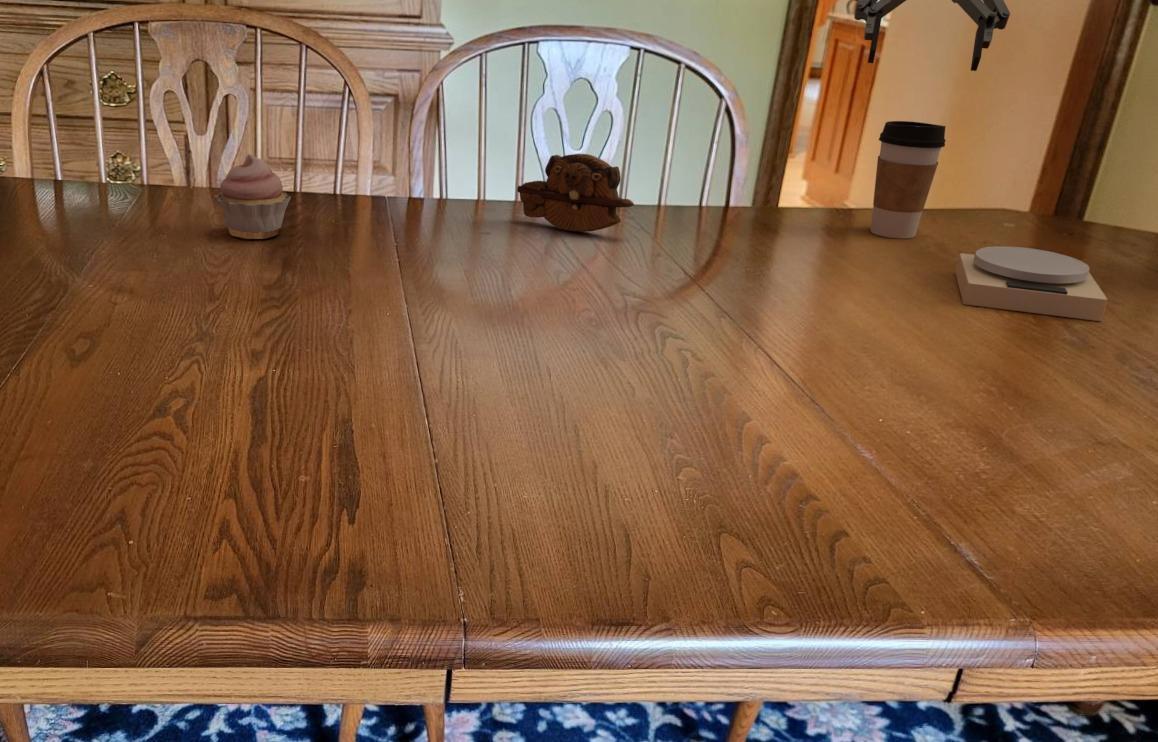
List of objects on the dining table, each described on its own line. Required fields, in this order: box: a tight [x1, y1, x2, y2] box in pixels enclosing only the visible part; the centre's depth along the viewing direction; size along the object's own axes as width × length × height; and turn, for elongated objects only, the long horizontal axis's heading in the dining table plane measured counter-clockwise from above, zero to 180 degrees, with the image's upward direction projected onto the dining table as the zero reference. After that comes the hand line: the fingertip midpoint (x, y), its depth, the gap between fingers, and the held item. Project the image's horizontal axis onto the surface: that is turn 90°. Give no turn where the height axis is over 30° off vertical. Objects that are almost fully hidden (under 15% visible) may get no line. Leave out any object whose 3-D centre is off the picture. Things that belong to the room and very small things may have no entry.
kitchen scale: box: [954, 245, 1109, 322], centre depth 126 cm, size 14×14×4 cm
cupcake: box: [214, 153, 291, 233], centre depth 137 cm, size 9×9×10 cm
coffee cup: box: [870, 120, 947, 240], centre depth 150 cm, size 8×8×15 cm
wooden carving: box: [516, 153, 635, 232], centre depth 145 cm, size 16×5×10 cm, turn 60°
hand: (923, 60), depth 153 cm, fingers open, 13 cm apart
